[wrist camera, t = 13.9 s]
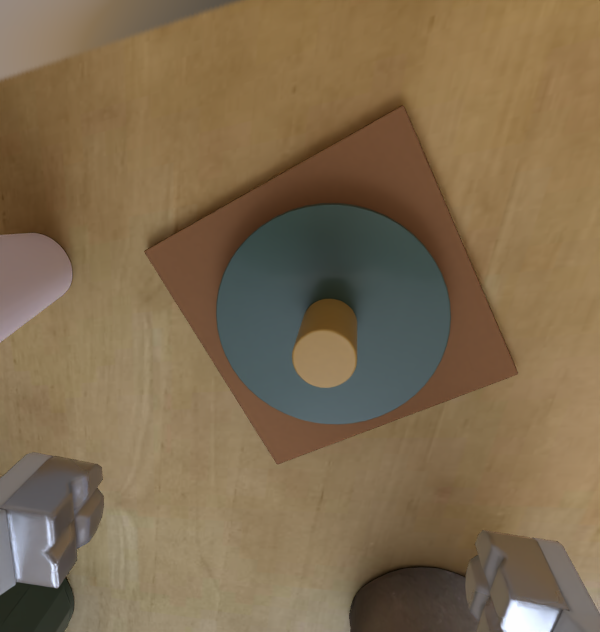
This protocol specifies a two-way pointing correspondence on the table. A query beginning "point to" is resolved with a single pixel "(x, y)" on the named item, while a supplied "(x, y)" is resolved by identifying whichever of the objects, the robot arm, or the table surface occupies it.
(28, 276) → the smoothie
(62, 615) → the tin
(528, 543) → the robot arm
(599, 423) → the table surface
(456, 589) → the pillar candle
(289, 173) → the cork mat
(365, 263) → the tin lid
